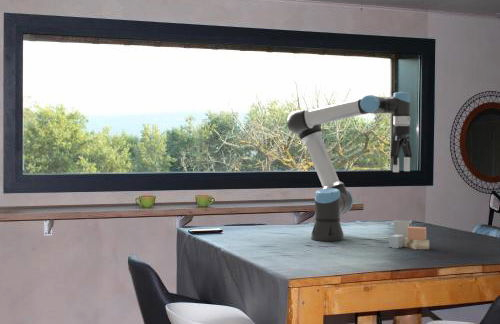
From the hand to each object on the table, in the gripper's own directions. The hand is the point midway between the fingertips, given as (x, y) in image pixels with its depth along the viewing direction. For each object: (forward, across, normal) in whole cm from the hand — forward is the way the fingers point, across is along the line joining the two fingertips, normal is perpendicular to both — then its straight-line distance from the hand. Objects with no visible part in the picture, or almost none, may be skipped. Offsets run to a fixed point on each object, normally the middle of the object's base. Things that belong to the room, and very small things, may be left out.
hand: (401, 171), depth 312 cm
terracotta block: (+28, -18, -14) cm, 36 cm away
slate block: (+32, -21, -6) cm, 39 cm away
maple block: (+32, -18, -14) cm, 39 cm away
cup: (+32, -9, -4) cm, 33 cm away
